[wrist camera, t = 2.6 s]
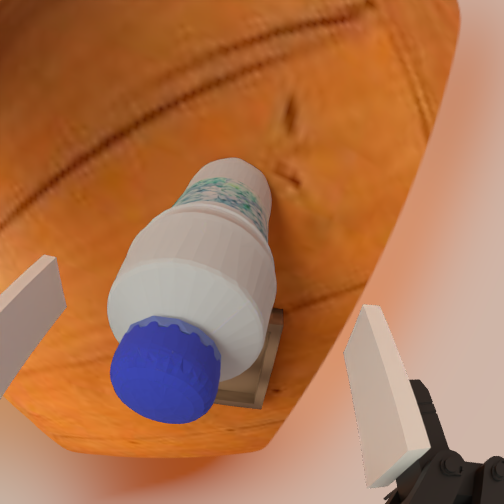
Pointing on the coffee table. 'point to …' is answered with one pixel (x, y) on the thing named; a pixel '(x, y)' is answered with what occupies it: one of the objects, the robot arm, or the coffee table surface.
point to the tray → (254, 371)
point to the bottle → (194, 295)
